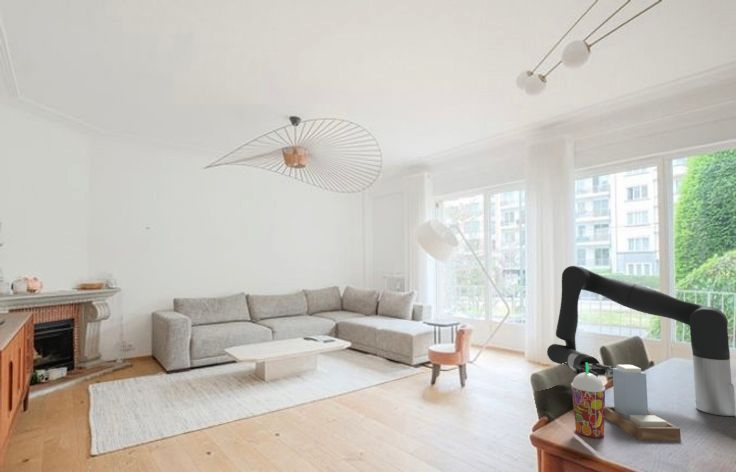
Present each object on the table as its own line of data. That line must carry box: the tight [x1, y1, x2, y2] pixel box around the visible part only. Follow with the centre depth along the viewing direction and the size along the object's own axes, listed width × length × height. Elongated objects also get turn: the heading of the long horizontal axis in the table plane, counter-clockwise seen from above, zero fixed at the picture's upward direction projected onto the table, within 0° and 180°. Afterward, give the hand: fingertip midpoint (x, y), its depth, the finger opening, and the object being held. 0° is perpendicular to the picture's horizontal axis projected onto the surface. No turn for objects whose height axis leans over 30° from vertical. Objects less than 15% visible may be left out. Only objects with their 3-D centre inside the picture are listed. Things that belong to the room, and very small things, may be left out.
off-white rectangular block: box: [630, 414, 668, 427], centre depth 108 cm, size 4×7×4 cm, turn 89°
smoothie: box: [570, 363, 606, 439], centre depth 109 cm, size 8×8×20 cm
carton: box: [612, 364, 649, 421], centre depth 116 cm, size 6×6×16 cm
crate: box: [604, 406, 682, 441], centre depth 112 cm, size 16×11×4 cm
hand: (610, 376), depth 126 cm, fingers open, 8 cm apart
